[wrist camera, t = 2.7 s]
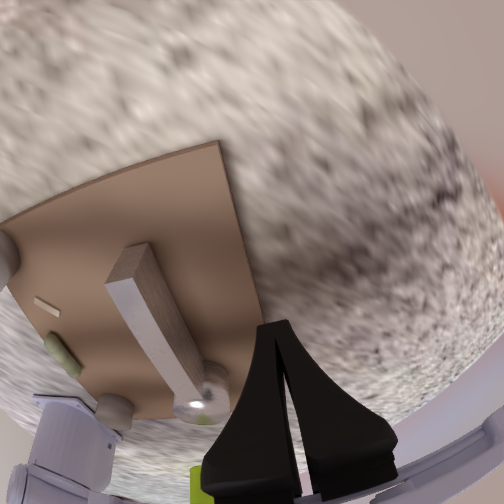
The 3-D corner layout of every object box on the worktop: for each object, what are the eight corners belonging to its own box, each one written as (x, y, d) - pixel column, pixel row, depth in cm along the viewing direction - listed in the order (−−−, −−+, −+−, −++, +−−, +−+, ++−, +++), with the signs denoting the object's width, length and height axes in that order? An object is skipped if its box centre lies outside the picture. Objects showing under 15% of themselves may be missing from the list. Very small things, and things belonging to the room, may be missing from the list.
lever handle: (234, 386, 19) (236, 421, 17) (187, 392, 19) (185, 426, 17) (169, 236, 13) (157, 272, 11) (105, 253, 13) (83, 288, 11)
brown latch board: (281, 388, 23) (288, 422, 20) (118, 407, 23) (112, 436, 20) (217, 138, 13) (215, 149, 10) (-8, 226, 13) (-38, 252, 10)
